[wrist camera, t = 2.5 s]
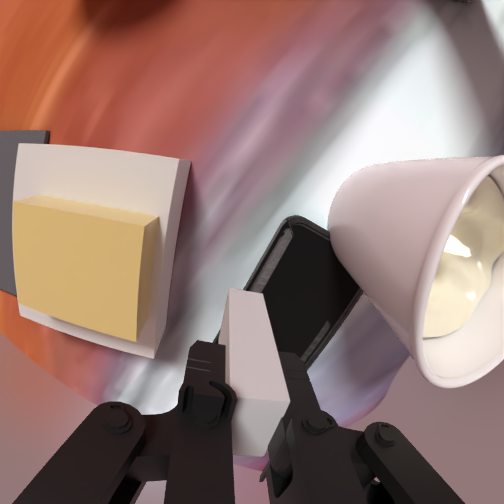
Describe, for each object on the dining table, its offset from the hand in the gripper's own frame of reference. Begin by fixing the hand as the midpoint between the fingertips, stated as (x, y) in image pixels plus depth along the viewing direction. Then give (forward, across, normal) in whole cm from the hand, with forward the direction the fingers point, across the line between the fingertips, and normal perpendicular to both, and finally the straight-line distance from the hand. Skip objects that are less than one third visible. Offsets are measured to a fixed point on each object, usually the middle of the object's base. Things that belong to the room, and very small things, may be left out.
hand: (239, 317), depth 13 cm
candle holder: (+7, +9, +5) cm, 13 cm away
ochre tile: (+3, -9, 0) cm, 9 cm away
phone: (+7, +4, -4) cm, 9 cm away
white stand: (+7, -10, 0) cm, 12 cm away
